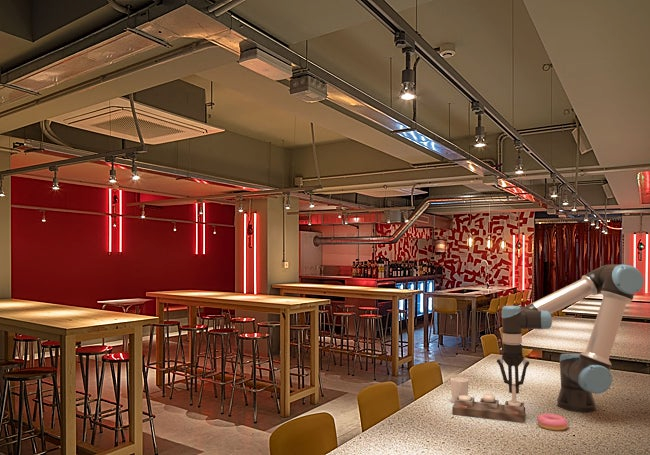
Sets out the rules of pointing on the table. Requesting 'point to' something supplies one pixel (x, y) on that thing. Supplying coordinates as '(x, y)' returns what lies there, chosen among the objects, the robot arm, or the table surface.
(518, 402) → the button near
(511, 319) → the robot arm
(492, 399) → the button mid
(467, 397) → the button far
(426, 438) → the table surface
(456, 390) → the tan paper cup
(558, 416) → the doughnut
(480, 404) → the panel
